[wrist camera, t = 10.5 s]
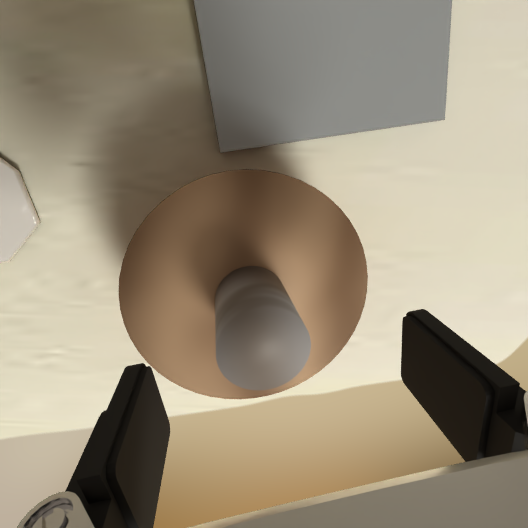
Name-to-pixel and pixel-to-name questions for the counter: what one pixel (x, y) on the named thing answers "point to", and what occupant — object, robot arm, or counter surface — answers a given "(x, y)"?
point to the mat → (322, 66)
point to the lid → (243, 284)
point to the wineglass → (14, 212)
